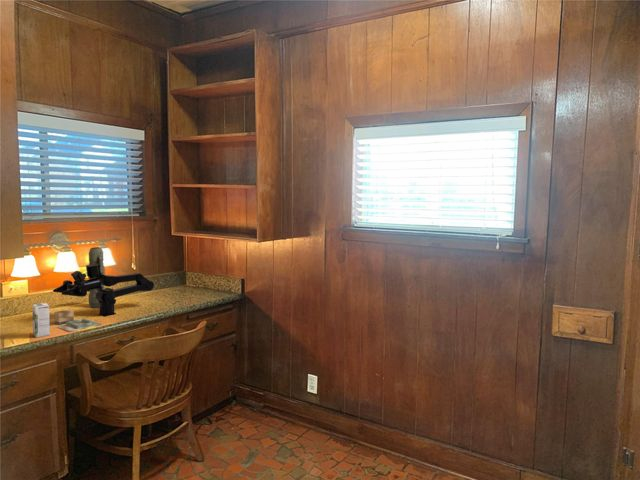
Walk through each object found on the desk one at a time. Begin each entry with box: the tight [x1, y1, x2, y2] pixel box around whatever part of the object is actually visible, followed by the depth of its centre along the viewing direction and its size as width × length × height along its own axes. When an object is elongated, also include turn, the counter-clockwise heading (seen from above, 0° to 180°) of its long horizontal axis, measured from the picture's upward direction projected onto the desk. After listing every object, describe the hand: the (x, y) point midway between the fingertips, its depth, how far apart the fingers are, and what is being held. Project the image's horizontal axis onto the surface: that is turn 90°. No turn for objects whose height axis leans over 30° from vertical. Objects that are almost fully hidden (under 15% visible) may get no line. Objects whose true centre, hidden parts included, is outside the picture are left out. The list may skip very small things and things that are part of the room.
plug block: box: [54, 309, 75, 326], centre depth 220 cm, size 7×4×6 cm, turn 145°
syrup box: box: [32, 302, 51, 338], centre depth 200 cm, size 6×6×14 cm
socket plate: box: [57, 318, 103, 333], centre depth 215 cm, size 16×12×2 cm
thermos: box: [87, 246, 106, 309], centre depth 254 cm, size 9×12×35 cm
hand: (57, 292), depth 216 cm, fingers open, 9 cm apart
